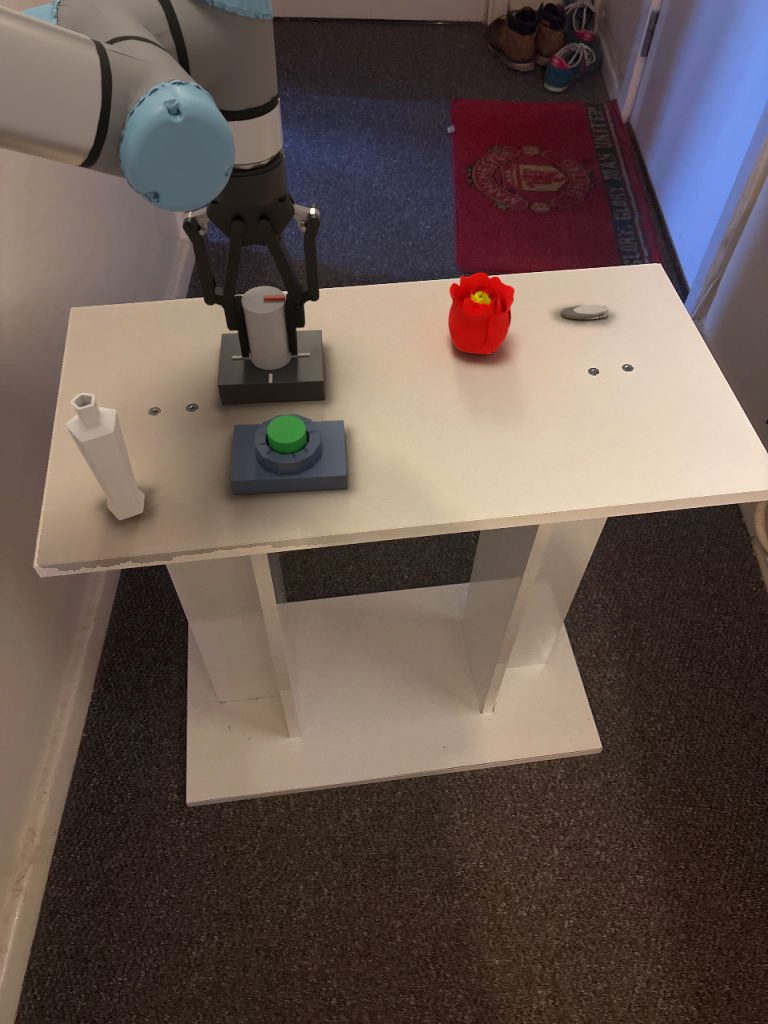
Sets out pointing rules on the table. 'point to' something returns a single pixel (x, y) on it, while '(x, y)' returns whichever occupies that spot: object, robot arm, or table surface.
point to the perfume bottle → (106, 454)
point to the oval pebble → (585, 312)
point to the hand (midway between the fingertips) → (270, 348)
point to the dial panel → (272, 373)
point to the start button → (287, 434)
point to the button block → (289, 459)
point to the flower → (480, 313)
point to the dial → (266, 327)
